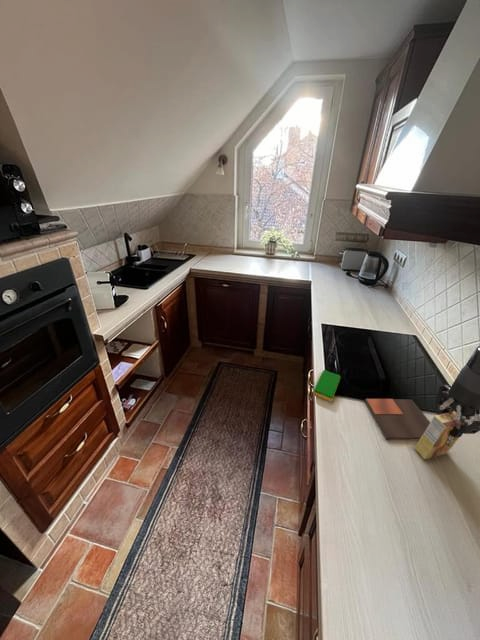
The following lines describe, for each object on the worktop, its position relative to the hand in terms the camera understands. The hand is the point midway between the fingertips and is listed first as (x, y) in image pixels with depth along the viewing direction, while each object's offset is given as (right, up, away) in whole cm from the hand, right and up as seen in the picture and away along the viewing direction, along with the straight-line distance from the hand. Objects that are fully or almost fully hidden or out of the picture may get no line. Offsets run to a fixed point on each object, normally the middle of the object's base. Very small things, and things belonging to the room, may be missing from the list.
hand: (446, 427), depth 73 cm
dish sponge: (-25, +4, +28) cm, 38 cm away
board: (-3, -4, +16) cm, 17 cm away
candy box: (0, -10, +6) cm, 12 cm away
